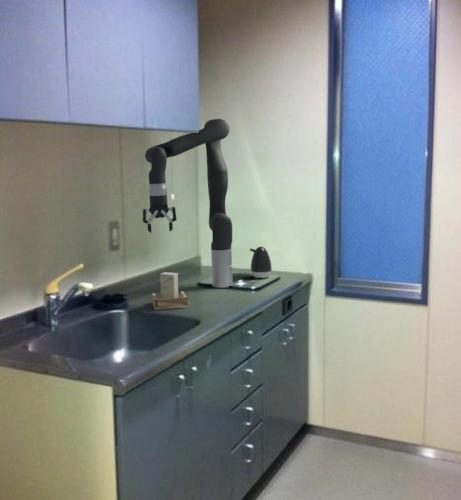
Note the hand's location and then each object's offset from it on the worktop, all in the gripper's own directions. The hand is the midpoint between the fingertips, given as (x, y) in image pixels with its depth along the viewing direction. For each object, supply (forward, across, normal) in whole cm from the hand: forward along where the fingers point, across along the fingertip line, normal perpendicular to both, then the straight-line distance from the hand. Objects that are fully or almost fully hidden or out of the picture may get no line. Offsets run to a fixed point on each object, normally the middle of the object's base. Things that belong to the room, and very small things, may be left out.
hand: (160, 231), depth 273 cm
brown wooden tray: (+28, 0, +20) cm, 34 cm away
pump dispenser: (+29, -49, -22) cm, 61 cm away
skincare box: (+27, -1, +19) cm, 33 cm away
